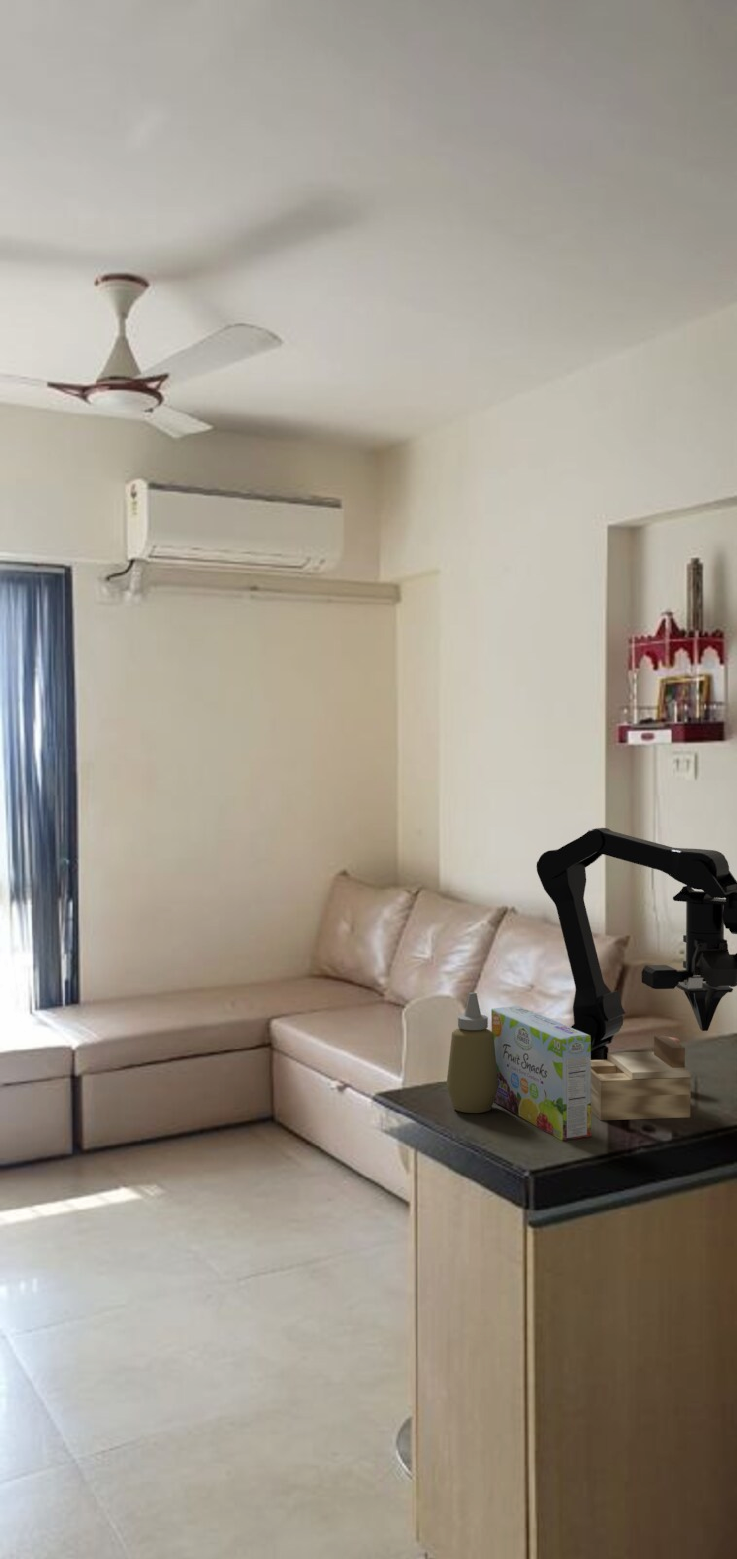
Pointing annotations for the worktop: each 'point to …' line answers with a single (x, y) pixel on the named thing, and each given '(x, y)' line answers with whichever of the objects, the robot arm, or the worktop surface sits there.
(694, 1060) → the worktop surface
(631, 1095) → the wooden box
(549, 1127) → the snack box
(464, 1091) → the squeeze bottle
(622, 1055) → the lid
